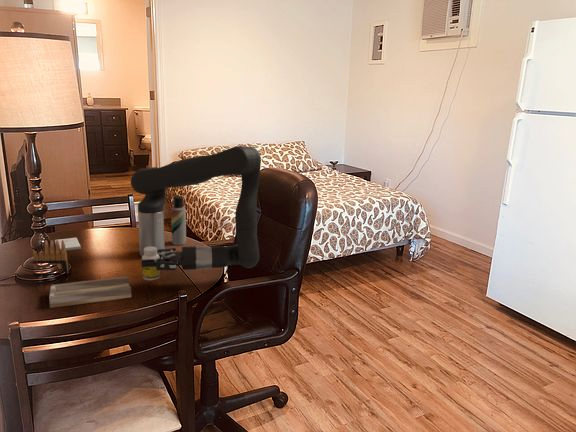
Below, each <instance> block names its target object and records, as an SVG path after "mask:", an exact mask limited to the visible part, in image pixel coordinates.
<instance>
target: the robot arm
mask: <svg viewBox="0 0 576 432" xmlns="http://www.w3.org/2000/svg"><path fill="white" fill-rule="evenodd" d="M261 164H262V157H261V155H260V152H259V151H258V149H257V148H254V147H252V146H245V145H243V146H241V145H239V146H238V145H237V146H233V147H230V148H228V149H225V150H222V151H219V152H217V153H213V154H210V155H209V154H208V155H200V156H193V157H188V158H185V159H181V160H178V161H174V162H172V163H169V164H166V165H164V166H161V167H155V166H153V167H152V166H151V167H145V168H140V169H137V170H136V171H135V172H134V173H133V174H132V176H131V178H130V185H131V188H132V189H133V190H134V191H135V192H136V193H138V194H142V195H144V196H143V198H142V200H140V201H139V202H138V204H137V215H138V216H137V219H138V238H139V241H138V242H139V255H140V256H141V257H142V256H143V255H144V248H146V247H156V248H157V254H158V255H159V257H160V259H155V260H154V259H149V260H142V259H141V268H142V267H154V266H155V268H156V269H157V270H160V271H176V270H177V267H179V266H181V269H182V270H183V271H192V270H193V271H194V270H196V271H197V270H206V269H219V268H226V267H228V266H229V265H230V266H232V265H233V266H234V265H241V266H242V267H243V268H245V269H252V268H254V267H255V266H256V265H257V264H258V263H259V260H260V247H259V239H258V222H257V221H258V220H257V216H258V215H257V210H258V209H257V205H258V203H257V202H258V192H259V184H260V183H259V182H260V174H261ZM222 176H240V177H241V190H240V194H239V197H238V200H237V205H236V210H235V216H234V217H235V219H234V220H235V233H236V234H235V235H236V238H237V244H232V245H227V246H226V245H225V246H224V245H223V246H222V245H221V246H217V245H215V246H206V245H196V246H195V245H194V246H192V245H191V246H182V247H181V251H177V248H176V247H172V248H171V247H169V248H165V246H166V245H165V242H166V241H165V217H164V216H165V215H164V214H165V213H164V210H165V209H164V206H165V204H166V193H167V192H166V190H167V188H169V189H170V188H179V187H180V188H181V187H188V186H189V187H190V186H194V185H199V184H203V183H206V182H208V181H210V180H212V179H213V178H216V177H222Z"/></svg>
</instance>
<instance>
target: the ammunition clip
mask: <svg viewBox="0 0 576 432" xmlns="http://www.w3.org/2000/svg"><path fill="white" fill-rule="evenodd" d="M56 240H57V241H56V244H55V242H54V240H53V239H51V240H50V242H48V240H47V239H45V241H44V246H43V248H44V251H42V249H41V251H40V252H39V251H38V253H39V254H38V253H37V251H35V250H34V249H33V248H32V258H33V261H32V264H33V263H36V262H46V263H50V264H52V265H57V267H58V268H59V269H63V271H64V272H65V273H66V274H67V275H69V274H70V268H69V267H70V266H69V261H68V254H67V253H68V251H67V250H66V248H65V243H64V241H63V240H62V243H61V251H60V245H59V242H58V240H59V239H56ZM40 242H42V239H40V240H39V241H38V244H39V243H40ZM40 244H41V243H40ZM38 260H39V261H38ZM44 260H45V261H44Z"/></svg>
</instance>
